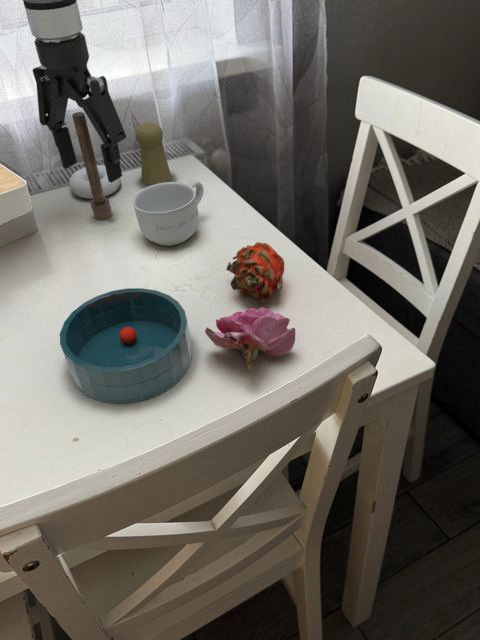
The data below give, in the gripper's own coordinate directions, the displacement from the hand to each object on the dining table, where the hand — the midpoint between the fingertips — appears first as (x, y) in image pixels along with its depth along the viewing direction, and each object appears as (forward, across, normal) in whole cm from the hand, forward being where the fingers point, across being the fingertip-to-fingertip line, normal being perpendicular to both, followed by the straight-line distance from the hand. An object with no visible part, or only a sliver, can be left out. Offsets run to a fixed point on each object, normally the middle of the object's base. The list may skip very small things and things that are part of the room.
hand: (92, 171), depth 105 cm
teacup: (+9, -16, -2) cm, 18 cm away
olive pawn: (+9, 0, -16) cm, 18 cm away
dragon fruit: (+9, -37, +5) cm, 38 cm away
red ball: (+7, -28, +25) cm, 38 cm away
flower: (+9, -44, +18) cm, 48 cm away
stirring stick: (+9, 0, 0) cm, 9 cm away
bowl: (+9, -30, +27) cm, 41 cm away
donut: (+9, +8, -7) cm, 14 cm away
